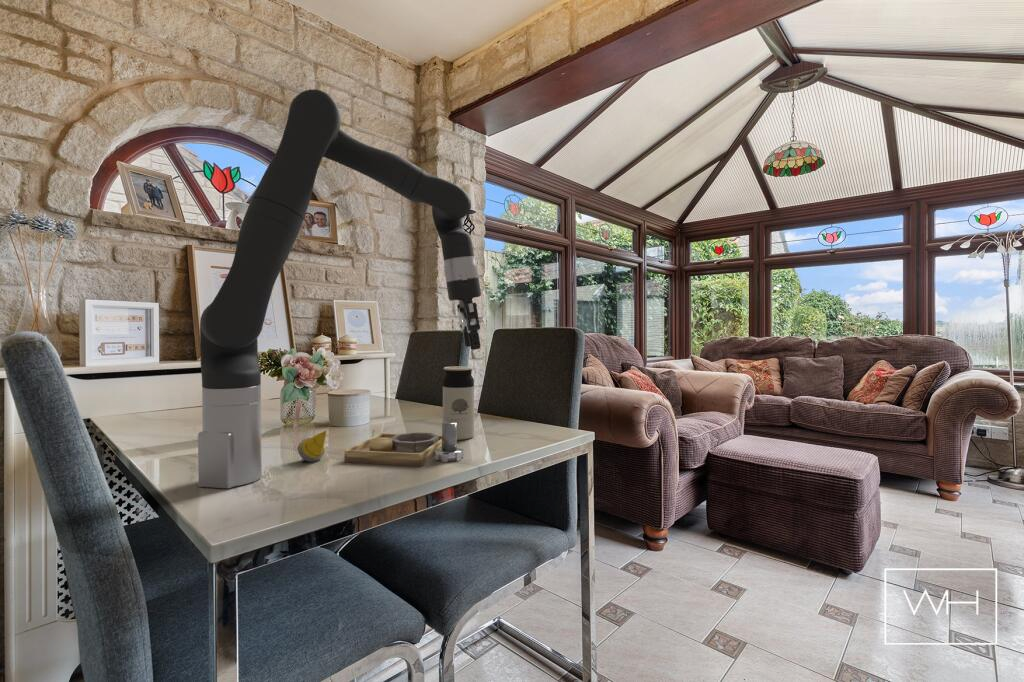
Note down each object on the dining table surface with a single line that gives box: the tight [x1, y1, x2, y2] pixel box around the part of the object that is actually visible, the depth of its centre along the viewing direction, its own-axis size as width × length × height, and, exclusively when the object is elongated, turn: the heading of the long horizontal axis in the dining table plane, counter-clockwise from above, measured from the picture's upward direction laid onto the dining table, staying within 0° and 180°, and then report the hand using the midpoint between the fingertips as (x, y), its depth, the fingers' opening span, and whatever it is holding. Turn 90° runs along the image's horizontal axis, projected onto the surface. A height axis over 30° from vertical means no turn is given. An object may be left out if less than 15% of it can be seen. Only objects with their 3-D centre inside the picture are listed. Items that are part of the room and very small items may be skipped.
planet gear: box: [434, 421, 465, 463], centre depth 103 cm, size 6×6×8 cm
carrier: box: [343, 431, 442, 467], centre depth 106 cm, size 17×17×4 cm
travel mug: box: [442, 365, 475, 441], centre depth 123 cm, size 8×8×18 cm
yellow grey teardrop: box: [297, 430, 327, 463], centre depth 100 cm, size 5×5×10 cm
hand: (472, 347), depth 112 cm, fingers open, 8 cm apart
